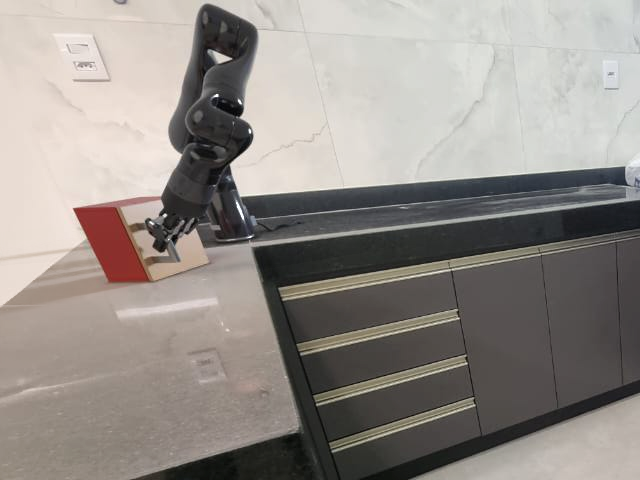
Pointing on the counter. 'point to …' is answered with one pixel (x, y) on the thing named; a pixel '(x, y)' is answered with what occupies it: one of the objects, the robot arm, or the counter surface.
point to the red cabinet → (112, 239)
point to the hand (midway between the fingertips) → (162, 248)
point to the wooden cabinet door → (154, 263)
